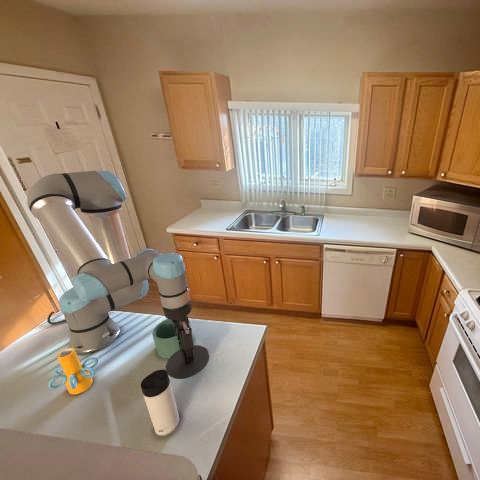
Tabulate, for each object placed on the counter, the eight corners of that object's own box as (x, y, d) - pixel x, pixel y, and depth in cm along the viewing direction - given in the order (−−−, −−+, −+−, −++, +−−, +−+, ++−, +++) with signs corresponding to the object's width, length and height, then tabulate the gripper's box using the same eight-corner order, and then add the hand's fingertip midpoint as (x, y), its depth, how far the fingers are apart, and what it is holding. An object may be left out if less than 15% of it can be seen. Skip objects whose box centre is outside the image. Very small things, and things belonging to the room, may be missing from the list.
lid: (161, 361, 87) (156, 341, 84) (200, 341, 96) (197, 322, 93) (173, 388, 79) (168, 367, 75) (215, 364, 88) (213, 344, 84)
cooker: (153, 345, 100) (148, 326, 97) (186, 330, 109) (183, 312, 105) (162, 364, 92) (157, 345, 89) (197, 347, 101) (194, 328, 97)
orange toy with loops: (112, 372, 89) (99, 340, 83) (88, 401, 79) (72, 367, 73) (75, 372, 88) (60, 339, 82) (46, 401, 78) (27, 366, 72)
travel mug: (164, 442, 70) (149, 393, 62) (150, 429, 73) (134, 380, 65) (185, 422, 75) (173, 374, 67) (171, 410, 78) (159, 363, 70)
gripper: (199, 310, 75) (208, 367, 84) (180, 286, 85) (190, 339, 94) (171, 321, 70) (184, 380, 79) (155, 294, 80) (168, 349, 89)
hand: (187, 357), depth 87 cm, fingers closed on lid, 3 cm apart
